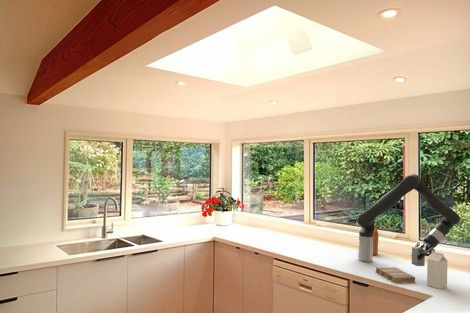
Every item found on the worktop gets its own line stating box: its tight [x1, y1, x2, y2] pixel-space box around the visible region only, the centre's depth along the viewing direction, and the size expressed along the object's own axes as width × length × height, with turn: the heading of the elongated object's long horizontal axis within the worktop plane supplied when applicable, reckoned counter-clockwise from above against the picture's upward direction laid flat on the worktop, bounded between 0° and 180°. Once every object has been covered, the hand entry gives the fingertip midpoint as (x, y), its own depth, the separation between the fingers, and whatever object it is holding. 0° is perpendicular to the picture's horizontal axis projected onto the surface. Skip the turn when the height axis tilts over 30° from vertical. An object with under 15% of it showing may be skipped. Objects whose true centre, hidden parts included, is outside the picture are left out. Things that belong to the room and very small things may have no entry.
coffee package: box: [373, 225, 379, 256], centre depth 272 cm, size 10×12×22 cm
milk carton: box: [426, 251, 448, 290], centre depth 200 cm, size 7×7×19 cm
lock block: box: [411, 246, 426, 267], centre depth 215 cm, size 5×5×11 cm
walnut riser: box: [375, 266, 416, 284], centre depth 214 cm, size 20×13×3 cm, turn 8°
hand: (415, 257), depth 214 cm, fingers closed on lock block, 5 cm apart
